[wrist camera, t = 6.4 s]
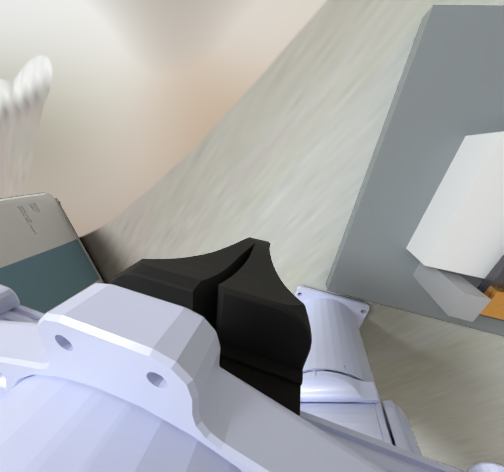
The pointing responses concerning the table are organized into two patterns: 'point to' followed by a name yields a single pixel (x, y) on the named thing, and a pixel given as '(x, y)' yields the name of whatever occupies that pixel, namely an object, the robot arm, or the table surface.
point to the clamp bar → (494, 292)
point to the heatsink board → (435, 177)
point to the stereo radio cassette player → (42, 252)
